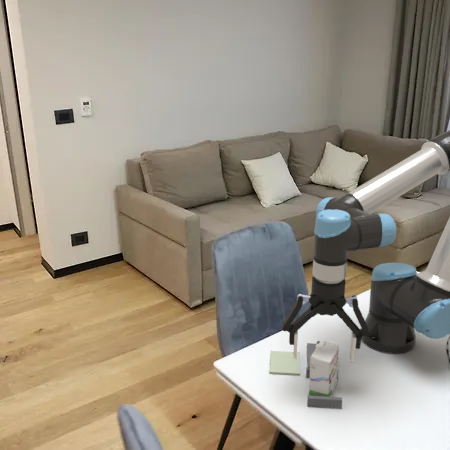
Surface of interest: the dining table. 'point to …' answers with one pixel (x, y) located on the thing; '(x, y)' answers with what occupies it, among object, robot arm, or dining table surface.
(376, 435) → the dining table surface
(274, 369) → the felt pad
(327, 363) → the ink box
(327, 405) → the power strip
